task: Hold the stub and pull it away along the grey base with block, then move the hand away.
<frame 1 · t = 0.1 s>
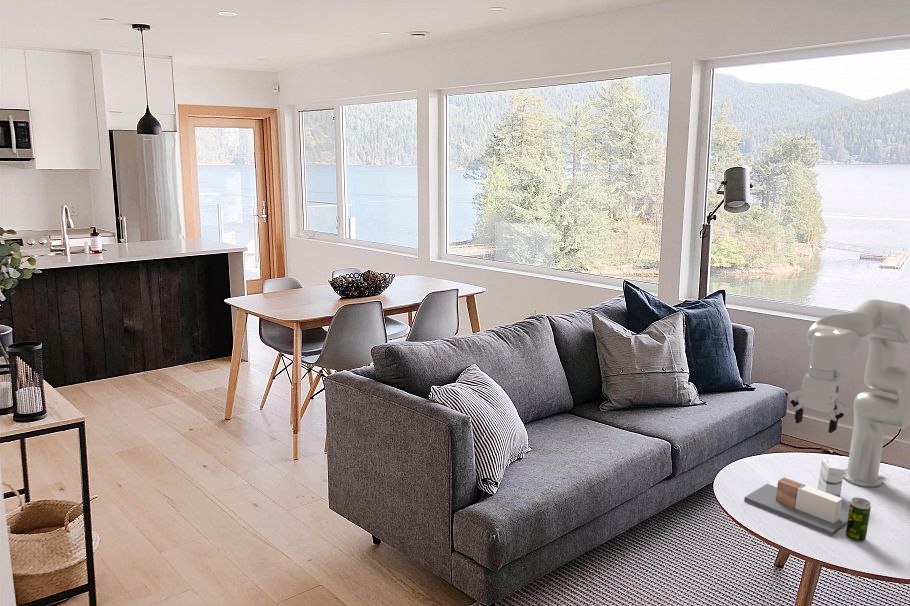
hand: (814, 426, 223), 31 cm above the table, tool pointing down, fingers open, 9 cm apart
beer can: (855, 538, 220), on the table
stub: (788, 492, 237), point 5 cm above the table, slide at 0.0 cm, touching grey base with block
ink box: (828, 496, 246), on the table
grey base with block: (797, 510, 236), on the table
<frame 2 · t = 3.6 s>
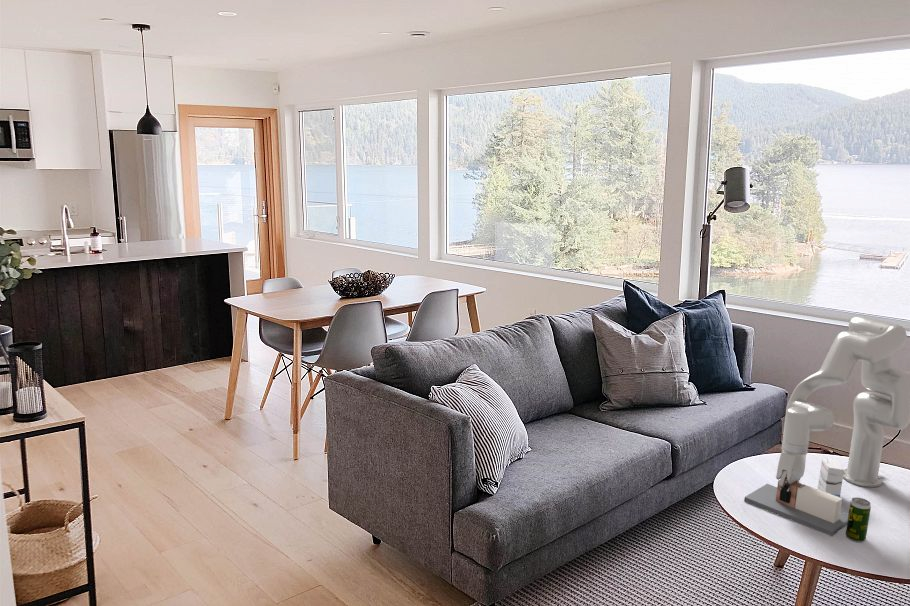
hand: (788, 498, 238), 3 cm above the table, tool pointing down, fingers closed on stub, 4 cm apart
stub: (788, 492, 237), point 5 cm above the table, slide at 0.0 cm, touching gripper, grey base with block
everything else where it was.
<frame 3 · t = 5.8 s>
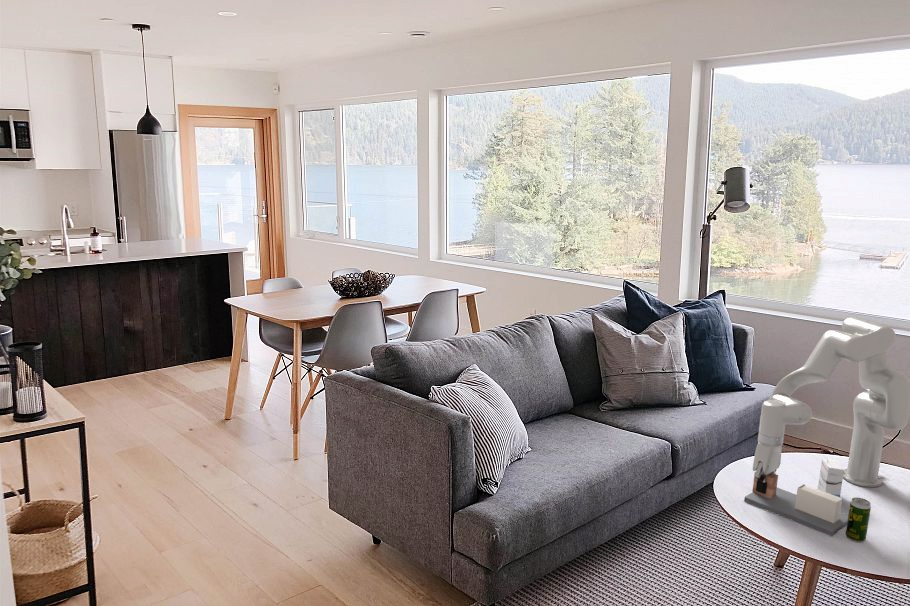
hand: (764, 489, 244), 3 cm above the table, tool pointing down, fingers closed on stub, 4 cm apart
stub: (765, 483, 243), point 5 cm above the table, slide at 7.9 cm, touching gripper, grey base with block
everything else where it was.
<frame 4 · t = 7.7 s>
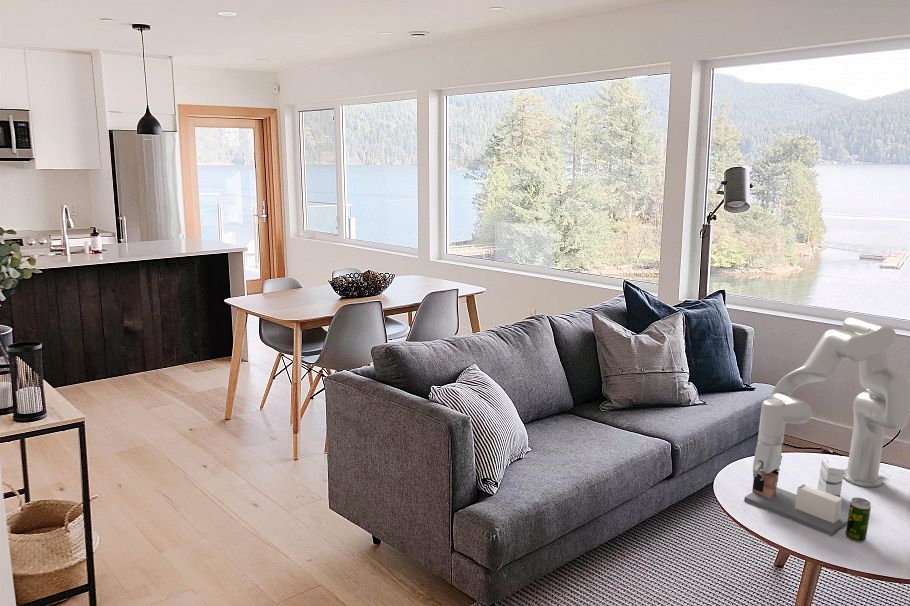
hand: (765, 485, 244), 4 cm above the table, tool pointing down, fingers open, 9 cm apart
stub: (765, 483, 243), point 5 cm above the table, slide at 8.0 cm, touching grey base with block
everything else where it was.
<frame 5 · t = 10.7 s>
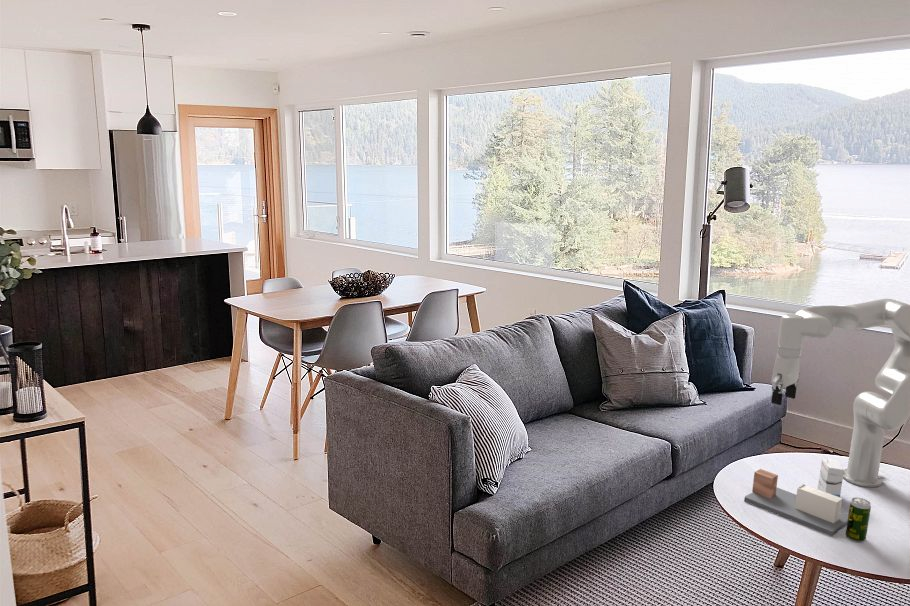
hand: (783, 400, 247), 30 cm above the table, tool pointing down, fingers open, 9 cm apart
nothing on the table moved.
at the end: stub slide at 8.0 cm; the gripper is holding nothing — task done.
